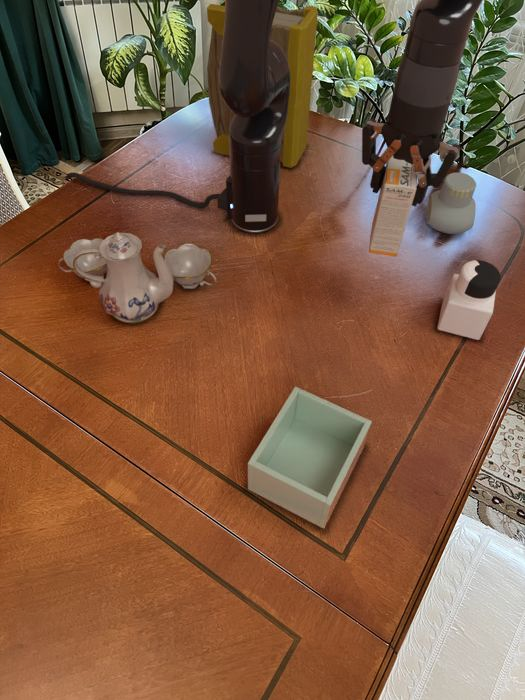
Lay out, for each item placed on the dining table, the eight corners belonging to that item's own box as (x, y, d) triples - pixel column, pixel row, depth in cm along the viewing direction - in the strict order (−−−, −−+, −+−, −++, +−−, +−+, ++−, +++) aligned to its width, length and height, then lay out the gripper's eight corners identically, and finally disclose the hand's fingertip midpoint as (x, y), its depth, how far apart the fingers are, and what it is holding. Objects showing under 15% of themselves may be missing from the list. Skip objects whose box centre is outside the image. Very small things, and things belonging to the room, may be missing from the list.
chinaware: (218, 268, 108) (215, 189, 96) (215, 329, 96) (211, 248, 84) (68, 268, 107) (46, 188, 95) (47, 330, 95) (18, 248, 83)
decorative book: (309, 145, 131) (321, 1, 107) (293, 171, 124) (303, 24, 100) (228, 127, 135) (223, -16, 111) (209, 152, 128) (199, 6, 105)
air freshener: (468, 244, 111) (485, 201, 103) (425, 238, 112) (438, 196, 104) (466, 208, 118) (481, 166, 110) (425, 203, 118) (437, 161, 110)
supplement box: (397, 258, 91) (417, 190, 81) (367, 253, 92) (383, 185, 82) (400, 225, 96) (420, 157, 86) (372, 220, 97) (388, 152, 87)
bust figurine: (483, 311, 100) (507, 260, 91) (479, 341, 96) (504, 291, 86) (442, 301, 101) (462, 250, 92) (436, 330, 97) (456, 280, 88)
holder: (247, 489, 79) (247, 463, 73) (292, 415, 86) (295, 386, 80) (323, 529, 76) (330, 505, 69) (363, 448, 83) (372, 421, 77)
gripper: (485, 92, 74) (448, 198, 88) (382, 63, 78) (361, 169, 91) (469, 118, 70) (432, 226, 83) (361, 87, 74) (342, 194, 87)
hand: (395, 196), depth 87 cm, fingers closed on supplement box, 5 cm apart
